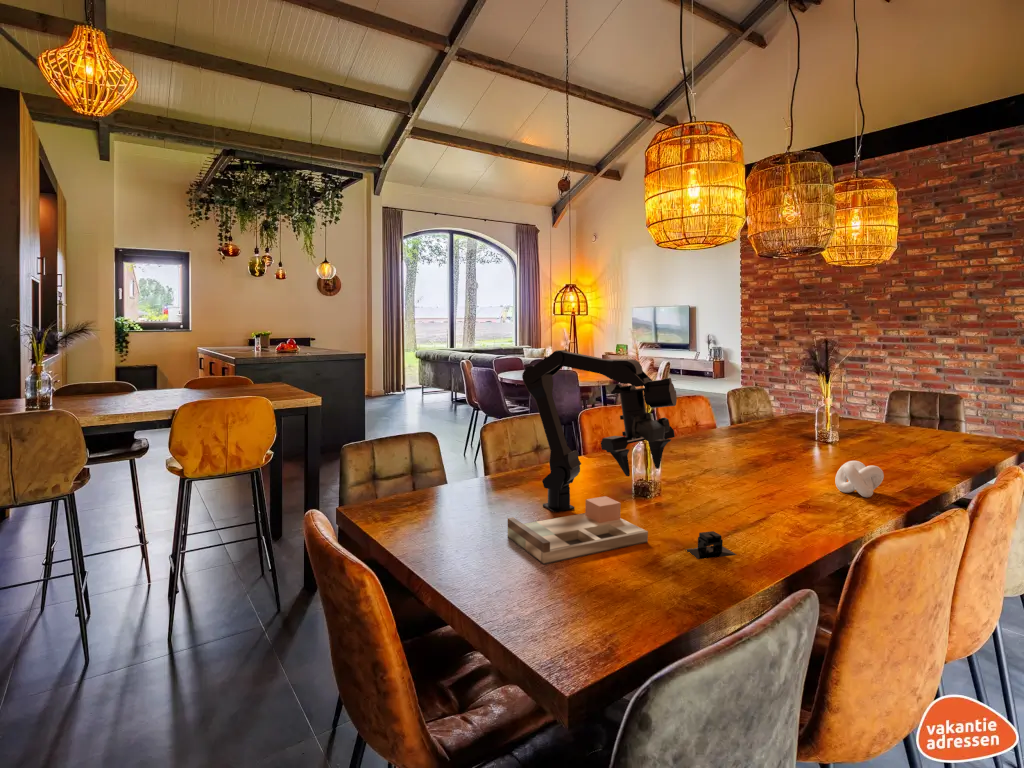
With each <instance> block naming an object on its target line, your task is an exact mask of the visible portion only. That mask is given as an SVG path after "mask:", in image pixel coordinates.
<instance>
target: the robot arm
mask: <svg viewBox="0 0 1024 768" xmlns="http://www.w3.org/2000/svg"><path fill="white" fill-rule="evenodd" d="M563 367H566V368H571V369H576V370H579V371H581V370H582V371H585V372H589V373H595V374H600V375H602V376H604V377H606V378H608V379H610V380H612V381H614V382H617V383H616V384H615V387H614V388H613V389H612V390H611V391H610V394H611V395H619V399H620V405H621V411H622V415H619V418H620V419H619V420H621V421H622V420H623V426H624V430H623V431H622V433H621V434H622V436H621V435H613V436H612V435H611V436H607V437H603V438H602V439H601V441H600V446H601V447H600V448H601V451H602V450H603V451H606V453H610V454H611V455H612V457H613V458H614V460H615V461H616V462H617V464H618V465H619V467H620V469H621V470H622V472H623V473H624V475H625V477H630V476H631V475H630V473H631V470H630V465H629V458H628V456H629V455H628V454H629V452H630V448H628V445H629V444H634V443H638V442H642V441H646V442H647V443H648V447H649V451H650V455H651V457H652V462H653V464H654V467H655V469H657V470H658V469H660V468H661V462H662V458H663V453H664V451H665V447H666V445H667V444H668V443H669V442H672V438H675V437H676V436H675V434H676V433H675V430H674V428H673V427H672V426H671V425H670V420H669V418H667V417H660V418H658V419H654V420H653V419H652V415H651V414H650V412H647V410H646V406H649V407H650V409H657V408H666V407H676V405H677V403H678V402H677V397H678V396H677V390H676V389H675V385H674V384H673V381H672V378H671V377H666V378H662V379H657V380H656V379H655V380H652V378H651V377H649V375H647V373H645V371H644V370H643V367H642V365H641V363H640V361H639V360H636V359H631V358H627V359H626V358H624V359H622V358H621V359H619V358H616V359H614V358H613V359H608V358H602V357H596V356H592V355H586V354H581V353H576V352H571V351H567V350H566V349H561V350H560V349H558V350H557V349H556V350H555V351H553V352H552V353H551V354H549V355H548V356H547V357H545V358H543V359H541V360H540V361H538V362H536V364H534V365H529V366H527V367H526V368H525V369H524V370H523V373H522V375H521V376H522V381H523V384H524V385H525V388H526V390H527V392H528V393H529V394H530V395H531V397H532V398H533V399H534V400H535V403H536V407H537V410H538V411H537V412H538V414H539V417H540V420H541V424H542V427H543V430H544V434H545V436H546V441H547V443H548V447H549V451H550V454H549V463H548V464H549V471H550V473H549V474H547V475H546V476H545V477H544V478H543V479H542V480H541V481H542V485H543V488H544V489H547V502H545V503H542V506H543V507H545V508H546V509H548V510H549V511H551V512H553V513H557V512H559V513H560V512H563V511H570V510H575V506H573V505H571V488H570V484H572V483H573V482H574V480H575V478H576V477H577V476H579V474H580V472H581V465H582V462H581V461H580V459H579V453H578V451H577V450H576V449H575V450H573V451H572V450H571V448H570V447H569V446H568V443H567V440H566V437H565V434H564V430H563V427H562V426H563V425H562V423H561V420H560V416H559V413H558V411H557V407H556V403H555V400H554V398H553V389H554V380H553V376H555V375H557V374H558V372H560V370H561V369H562V368H563ZM626 384H629V385H626ZM636 387H638V388H636ZM639 387H641V388H639Z"/></svg>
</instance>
